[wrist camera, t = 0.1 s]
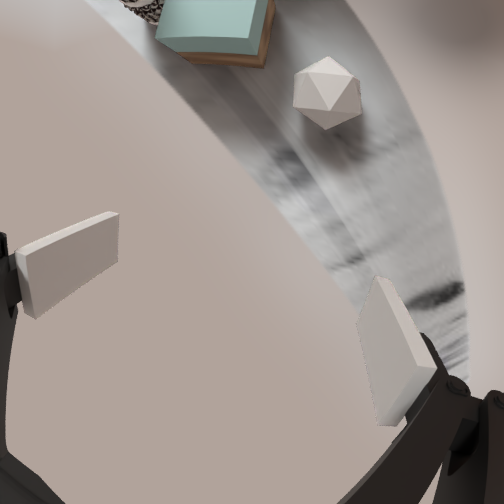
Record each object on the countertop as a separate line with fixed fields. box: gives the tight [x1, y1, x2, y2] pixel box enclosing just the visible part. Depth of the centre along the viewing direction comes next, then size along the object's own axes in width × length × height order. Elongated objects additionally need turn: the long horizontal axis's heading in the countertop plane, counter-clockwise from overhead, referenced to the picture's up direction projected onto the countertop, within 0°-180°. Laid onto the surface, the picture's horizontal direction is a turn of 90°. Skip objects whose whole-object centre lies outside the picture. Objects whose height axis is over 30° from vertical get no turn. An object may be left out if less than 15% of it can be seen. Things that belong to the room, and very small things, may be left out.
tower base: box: [176, 0, 276, 69], centre depth 31 cm, size 10×10×6 cm
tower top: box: [155, 0, 268, 55], centre depth 25 cm, size 10×10×6 cm
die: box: [293, 56, 362, 130], centre depth 31 cm, size 8×9×10 cm
